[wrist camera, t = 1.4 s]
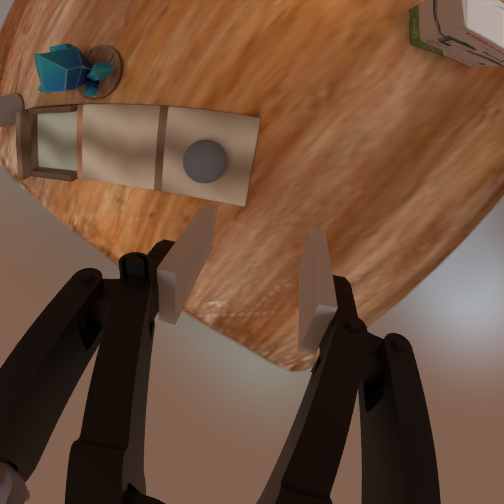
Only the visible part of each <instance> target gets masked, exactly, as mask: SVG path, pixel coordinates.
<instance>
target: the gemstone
mask: <svg viewBox="0 0 504 504" xmlns="http://www.w3.org/2000/svg"><path fill="white" fill-rule="evenodd" d="M49 48H50V51H51V52H48V53H42V54H34V58H35V63H36V67H37V71H38V75H39V78H40V82H41V85H40V86H39V88H38V89H37V90H39V91H42V92H45V93H51V92H57V91H69V90H76V89H78V91H79V93H80V94H81V95H82V96H84V97H85V98H87V99H92V100H95V99H101V98H104V97H106V96H107V95H109V94H110V93H111V92H112V91H113V90H114V89H115V88H116V86H117V85H118V83H119V81H120V78H121V75H122V69H123V64H122V59H121V56H120V54H119V53H118V51H117V50H116V49H114V48H113V47H111V46H106V45H98V46H95V47H92V48H91V49H89V50H88V51H87V52H85V53H84V54H83V53H82V52H81V51H80V49H79V48H78V47H74V46H73V45H71V44H61V45H57V46H52V47H49Z"/></svg>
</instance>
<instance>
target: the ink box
mask: <svg viewBox="0 0 504 504" xmlns="http://www.w3.org/2000/svg"><path fill="white" fill-rule="evenodd" d="M410 36H411V44H413V45H415V46H418V47H421V48H424V49H427V50H430V51H433V52H435V53H438V54H441V55H443V56H446V57H448V58H451V59H453V60H455V61H458V62H460V63H462V64H465V65H467V66H469V67H475V66H504V3H502V2H501V1H499V0H426V1H424V2H422V3H420V4H419V5H417V6H415V7H414V8H412V9H410Z"/></svg>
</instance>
